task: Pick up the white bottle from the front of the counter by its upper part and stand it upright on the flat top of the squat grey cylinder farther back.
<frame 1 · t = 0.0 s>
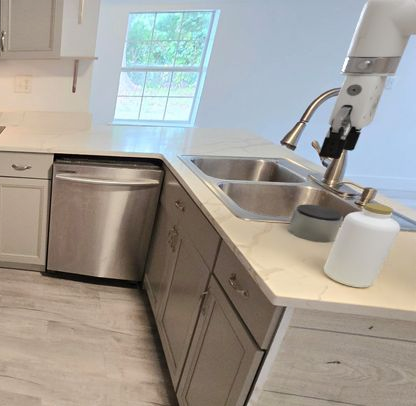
hand: (336, 153, 77), 28 cm above the worktop, tool pointing down, fingers open, 9 cm apart
grey cylinder: (310, 233, 103), on the worktop
white bottle: (346, 279, 83), on the worktop
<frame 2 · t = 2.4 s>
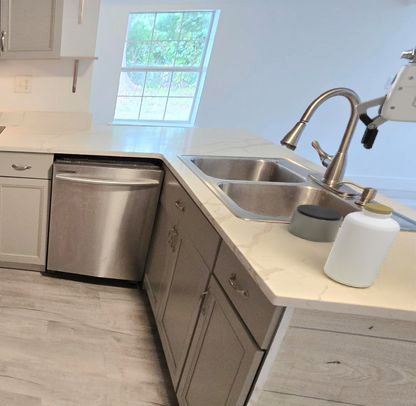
hand: (401, 150, 71), 30 cm above the worktop, tool pointing down, fingers open, 9 cm apart
nothing on the worktop moved.
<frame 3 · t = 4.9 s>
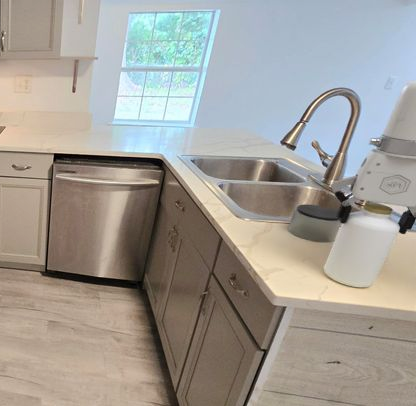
hand: (370, 225, 78), 14 cm above the worktop, tool pointing down, fingers closed on white bottle, 8 cm apart
white bottle: (346, 279, 83), on the worktop, touching gripper
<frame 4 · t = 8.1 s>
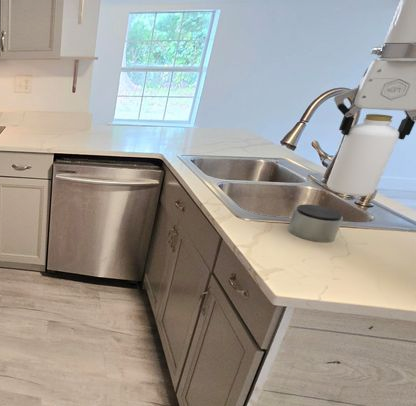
hand: (371, 135, 82), 30 cm above the worktop, tool pointing down, fingers closed on white bottle, 8 cm apart
white bottle: (348, 192, 88), point 16 cm above the worktop, touching gripper
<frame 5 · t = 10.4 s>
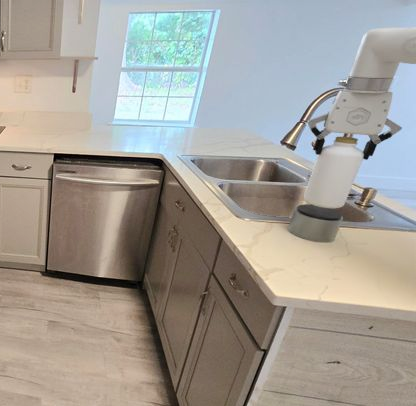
hand: (340, 155, 93), 23 cm above the worktop, tool pointing down, fingers closed on white bottle, 8 cm apart
white bottle: (321, 204, 99), point 9 cm above the worktop, touching gripper
when the fingers open (21 cm above the worktop, at t = 11.8 s): white bottle stays where it is, resting on grey cylinder.
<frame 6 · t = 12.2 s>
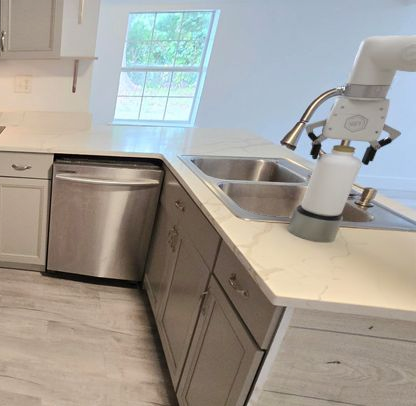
hand: (338, 160, 94), 21 cm above the worktop, tool pointing down, fingers open, 9 cm apart
white bottle: (319, 211, 100), point 7 cm above the worktop, touching grey cylinder
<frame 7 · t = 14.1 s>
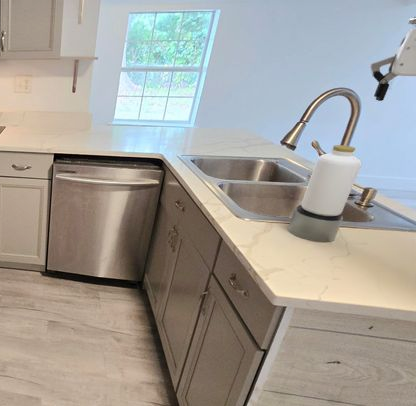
hand: (407, 101, 87), 36 cm above the worktop, tool pointing down, fingers open, 9 cm apart
nothing on the worktop moved.
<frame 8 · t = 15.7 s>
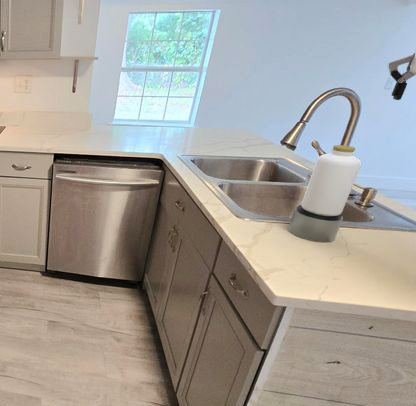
nothing on the worktop moved.
at the end: white bottle 0.2 cm off-centre on the grey cylinder, point 6.8 cm above the grey cylinder's base; white bottle tilted 0° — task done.
